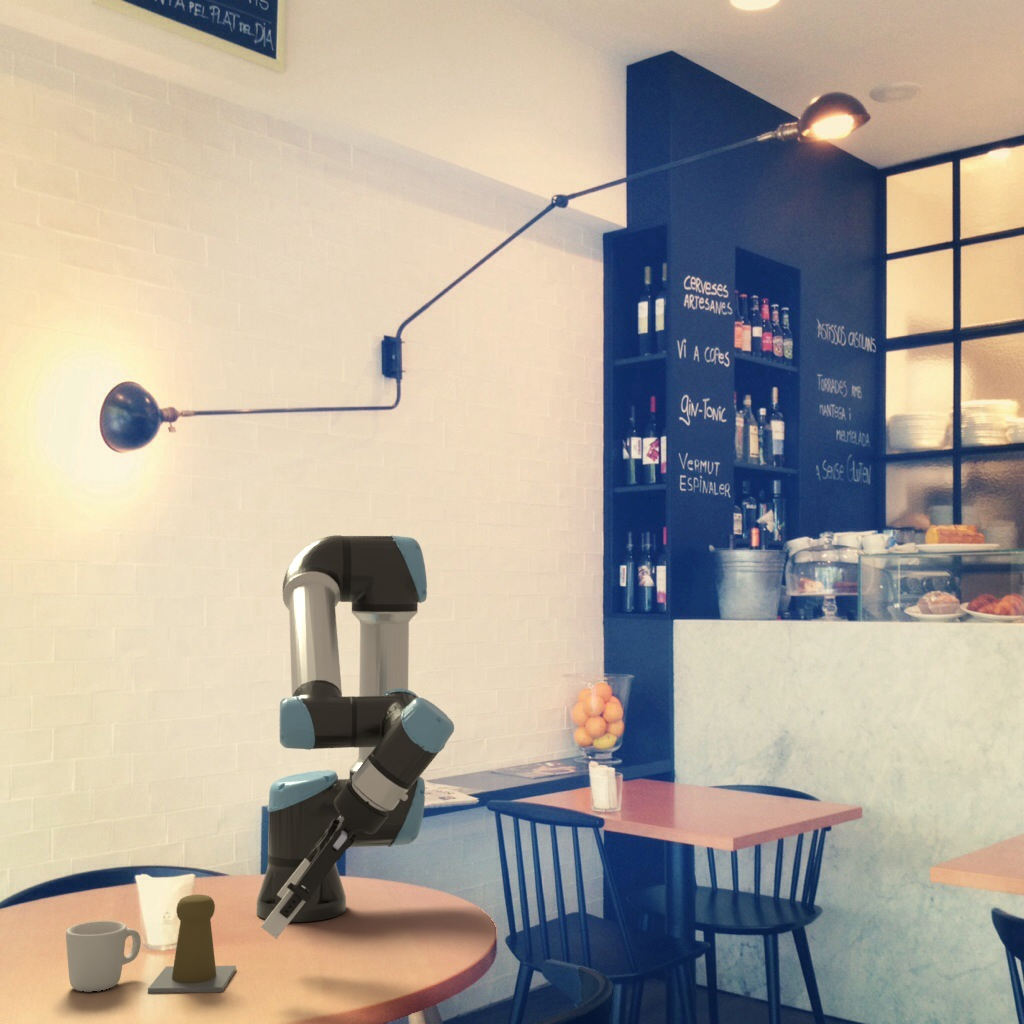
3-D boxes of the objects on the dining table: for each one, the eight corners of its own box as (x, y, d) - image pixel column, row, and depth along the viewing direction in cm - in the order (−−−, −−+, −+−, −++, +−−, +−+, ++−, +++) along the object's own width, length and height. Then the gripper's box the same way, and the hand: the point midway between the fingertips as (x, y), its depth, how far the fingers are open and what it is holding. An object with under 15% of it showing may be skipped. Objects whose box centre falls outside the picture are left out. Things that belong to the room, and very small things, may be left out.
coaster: (165, 970, 173) (166, 966, 173) (236, 969, 173) (236, 965, 173) (147, 992, 163) (147, 988, 163) (222, 991, 163) (222, 987, 163)
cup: (122, 970, 173) (123, 913, 174) (154, 981, 168) (156, 922, 169) (52, 988, 165) (54, 928, 165) (84, 1000, 160) (86, 938, 160)
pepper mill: (171, 984, 164) (173, 902, 165) (171, 971, 170) (173, 892, 171) (217, 981, 166) (218, 899, 167) (215, 968, 172) (217, 889, 173)
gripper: (384, 836, 158) (284, 964, 157) (396, 792, 183) (310, 902, 182) (339, 801, 158) (239, 929, 157) (357, 761, 183) (270, 872, 182)
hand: (276, 915), depth 170 cm, fingers open, 13 cm apart
